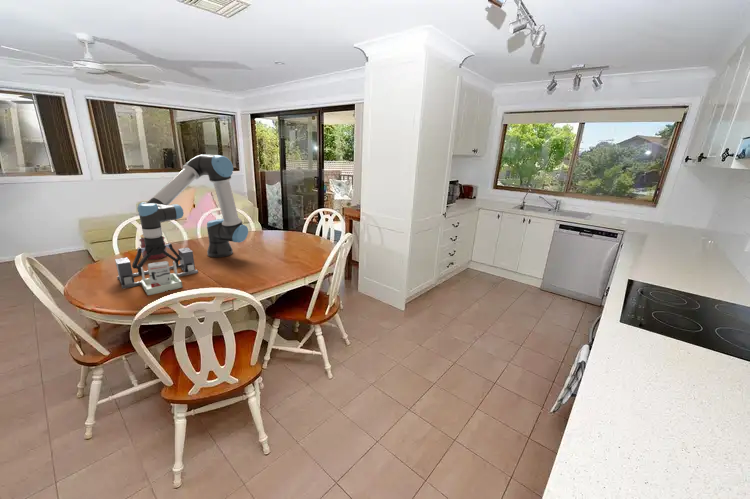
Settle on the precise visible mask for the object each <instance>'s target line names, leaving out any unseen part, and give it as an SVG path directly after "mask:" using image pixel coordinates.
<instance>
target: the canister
mask: <svg viewBox="0 0 750 499" xmlns="http://www.w3.org/2000/svg"><path fill="white" fill-rule="evenodd" d="M139 237H140V238H139V240H138V241H139V242H140V244H139V246H140V248H145V242H144V236H143V233H142V234H141V235H140V236H139ZM165 239H166V238H165V236H163V241H164V245H166V241H165ZM164 251H166V252H167V253H168V251H167V247H166V248H165V249H164ZM146 253H147V251H145V250H144V251H143V253H142V254H141V257H142V258H143V257H144V256H145V255H146ZM166 257H167V256H166V255H165V254H163V253H162V254H160V255H154V256H153V255H151V256H150V257H149V258H148V259H147V261H151V260H159V259H162V258H166Z"/></svg>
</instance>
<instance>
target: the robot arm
mask: <svg viewBox="0 0 750 499" xmlns="http://www.w3.org/2000/svg"><path fill="white" fill-rule="evenodd" d="M233 172H234V166H233V163H232V161H231V160H230V159H229V157H227V156H226V155H220V154H206V153H205V154H199V155H196V156H194V157H193V158H191V159H189V161H187V162H186V163H185V164H183V165H182V169H181V171H179V172H178V173H177V174H176V175H175V176H174V177H173V178H172V179H171V180H170V181H169V182H167V183H166V185H165V186H163V187H162V188H161V189H160V190H159V191H158V192H157V193H156V194H155V195H153V196H152V197H151V198H150V199H149V200H147V201H142V202H140V203H139V204H138V206H137V212H138V216H139V220H140V225H141V231H142V234H143V236H144V242H145V248H141V247H137V249H136V250H137V253H136V255H135V257H134V260H133V263H132V264H131V268H132V269H135V270H137V273H138V274H139V275H140V276H141V280H143V281H145V279H146V277H145V276H146V275H144V271H145V270H144V268H143V266H144V265H145V264H146V262H147V261H148V260H147V259H148V258H149V257H150V256H151V255H153V256H154V255H160V254H162V253H163V254H165V255H166V257H168V258H169V259H170V260H172V266H173V267H174V269H173V273H175V274H176V275H177V274H179V273H178V267H179V265H180V264H179V262H180V260H182V258H181V257H180V256H179V252H178V251H176V250H175V249H174V247H173V245H172V243H171V242H168V243H167V244H166V243H165V245H164V242H165V240H164V241H163V237H164V235H163V229H162V224H161V223H165V222H171V221H176V220H180V219H182V218H183V216H184V209H183V207H182V206H181V205H180V204H177V203H176V204H174V203H173V204H171V203H172V202H173V201H174V200H175V199H176V198H178V196H180V194H182V192H184V190H186V189H187V188H188V187H189V186H190V185H191V184H192V183H193V182H194V181H195V180H199V179H200V178H201V177H203V176H207V177H208V179H209V181H210V182H211V183H213V186H214V189H215V193H216V198H217V201H218V205H219V208H220V213H221V216H222V218H219V219H218V218H217V219H212V220H208V222H207V224H206V229H207V236H208V247H207V251H206V252H207V253H206V254H207V256H208V257H210V258H223V257H228V256H231V255H232V254H233V252H234V251H233V247H232V245H231V243H230V242H233V243H243V242H245V240H246V239H247V237H248V235H249V229H248V226H247V225H245V224H243V221H242V220H243V219H241V218H240V217H239V214H238V211H237V210H238V209H237V207H236V203H235V199H234V195H233V191H232V187H231V183H230V180H231V179H232V175H233ZM165 248H166V249H169V250H170V251H171V252H172V253H173V254H174V255H175V257H174V255H171V254H170V253H168V251H167V250H166V251H167V252H166V251H164V249H165ZM144 250H145V251H147V253H146V255H145V256H144V257H143V256H142V253H143V251H144ZM141 257H142V259H141Z"/></svg>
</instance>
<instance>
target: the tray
mask: <svg viewBox="0 0 750 499" xmlns="http://www.w3.org/2000/svg"><path fill="white" fill-rule="evenodd" d="M170 276H171V282H172V283H171V284H166V285H162V286H157V287H153V288H152V287H151V282H150V277H147V278H145V281H143V280H142V279H140V282H141V284H142V285H141V286H142V287H141V288H143V290H144V291H145V293H146V295H147V296H152V295H153V296H154V295H156V294H161V293H164V292H165V291H166V292H169V291H168V290H170V291H173V290H177V289H182V288H183V281H182V280H181V279H180V277H177V276H176V275H175V273H174V272H173V273H171V272H170ZM166 292H165V293H166Z"/></svg>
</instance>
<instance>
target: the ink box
mask: <svg viewBox="0 0 750 499" xmlns="http://www.w3.org/2000/svg"><path fill="white" fill-rule="evenodd" d="M169 266H170V264H169V261H168V260H165V261H158V262H157V261H156V262H152V263H151V262H150V263H147V271H149V274H148V276H149V278H150V282H151V287H152V288H153V287H157V286H162V285H166V284H171V283H172V282H171V276H170V274H171V269H170V270H169Z"/></svg>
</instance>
